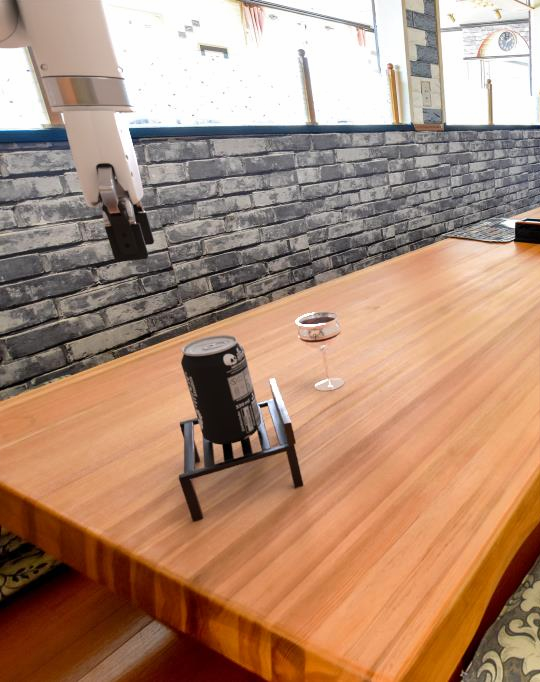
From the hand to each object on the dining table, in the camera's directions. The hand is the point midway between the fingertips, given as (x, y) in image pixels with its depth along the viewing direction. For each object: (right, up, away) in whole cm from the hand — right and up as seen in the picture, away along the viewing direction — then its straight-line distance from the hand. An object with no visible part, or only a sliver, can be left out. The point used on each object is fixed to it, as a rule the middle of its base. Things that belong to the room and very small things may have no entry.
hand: (136, 252), depth 65 cm
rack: (+11, -28, +4) cm, 30 cm away
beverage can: (+11, -22, +1) cm, 25 cm away
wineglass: (+14, -18, +27) cm, 35 cm away
